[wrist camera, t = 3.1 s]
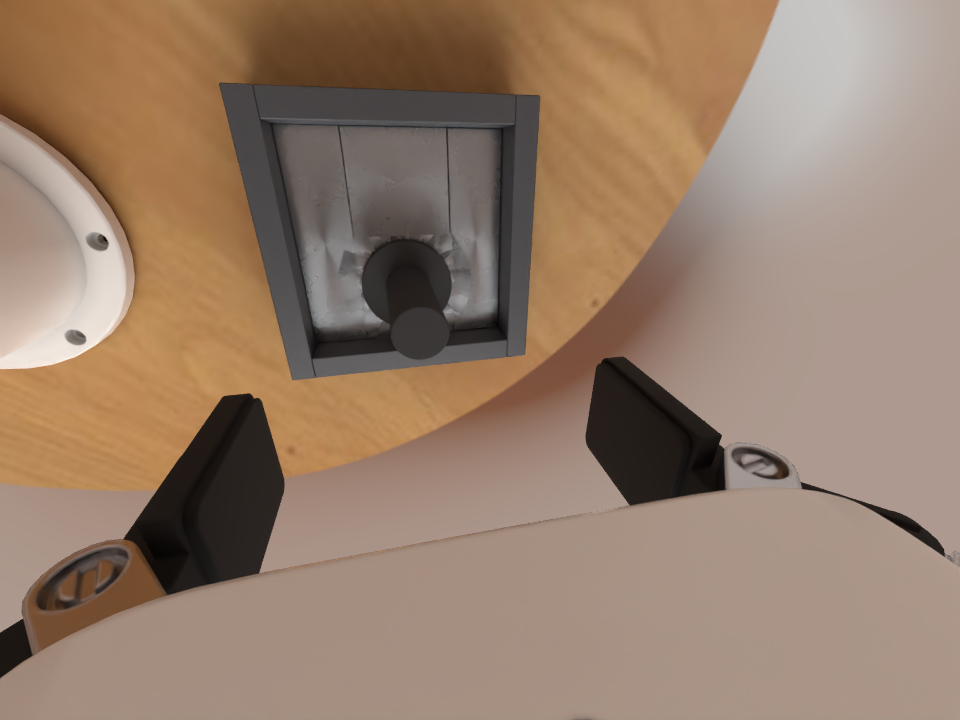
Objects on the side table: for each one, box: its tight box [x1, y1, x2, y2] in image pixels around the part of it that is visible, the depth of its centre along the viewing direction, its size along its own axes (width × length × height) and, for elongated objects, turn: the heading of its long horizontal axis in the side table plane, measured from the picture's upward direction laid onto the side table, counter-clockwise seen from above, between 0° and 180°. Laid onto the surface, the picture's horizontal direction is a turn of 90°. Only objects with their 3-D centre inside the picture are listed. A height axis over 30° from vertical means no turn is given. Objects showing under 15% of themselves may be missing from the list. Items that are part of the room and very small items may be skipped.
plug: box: [362, 239, 452, 360], centre depth 20 cm, size 5×5×10 cm
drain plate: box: [271, 123, 502, 343], centre depth 22 cm, size 11×12×2 cm
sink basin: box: [219, 83, 540, 380], centre depth 21 cm, size 13×13×4 cm
